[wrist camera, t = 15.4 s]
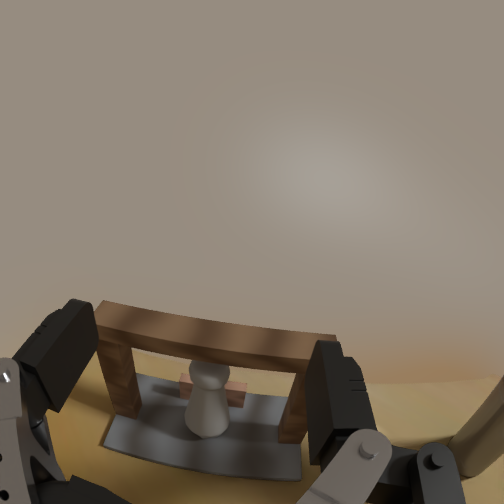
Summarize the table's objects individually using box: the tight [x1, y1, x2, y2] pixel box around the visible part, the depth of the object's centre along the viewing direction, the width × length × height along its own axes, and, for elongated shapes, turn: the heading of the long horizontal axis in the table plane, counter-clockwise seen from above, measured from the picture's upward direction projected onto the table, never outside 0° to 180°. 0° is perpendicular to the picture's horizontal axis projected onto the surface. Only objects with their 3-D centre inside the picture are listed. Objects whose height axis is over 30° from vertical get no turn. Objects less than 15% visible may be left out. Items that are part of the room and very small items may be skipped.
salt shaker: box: [184, 360, 230, 439], centre depth 33 cm, size 6×6×13 cm
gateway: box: [94, 300, 337, 481], centre depth 32 cm, size 25×14×18 cm, turn 87°
